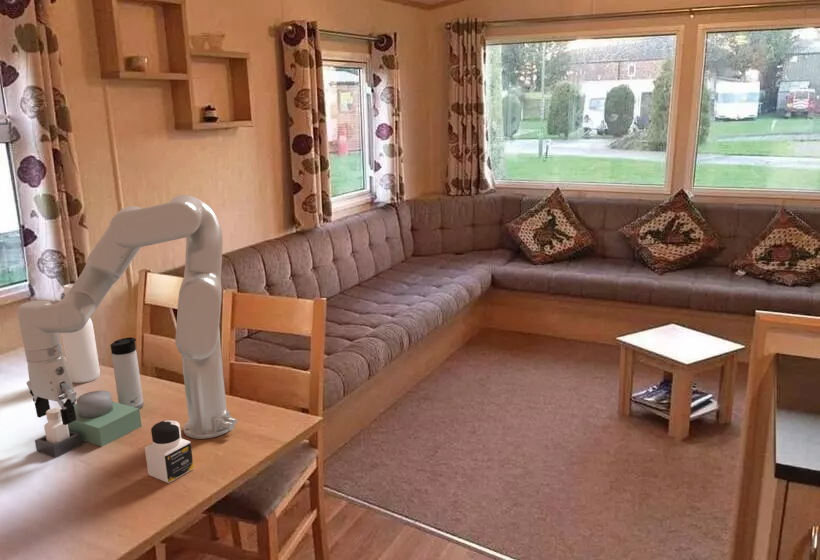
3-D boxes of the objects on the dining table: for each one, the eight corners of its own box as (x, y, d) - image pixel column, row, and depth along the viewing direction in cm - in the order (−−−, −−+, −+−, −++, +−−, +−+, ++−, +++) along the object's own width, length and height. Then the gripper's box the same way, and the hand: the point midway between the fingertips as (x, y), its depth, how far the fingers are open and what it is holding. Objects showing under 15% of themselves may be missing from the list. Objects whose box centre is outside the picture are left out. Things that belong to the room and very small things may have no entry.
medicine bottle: (168, 484, 145) (162, 434, 142) (147, 475, 149) (141, 427, 146) (194, 469, 151) (188, 421, 148) (173, 461, 154) (167, 414, 151)
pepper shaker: (72, 444, 163) (66, 408, 160) (57, 451, 159) (50, 415, 157) (61, 440, 164) (55, 405, 162) (46, 447, 161) (40, 412, 159)
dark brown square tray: (82, 444, 163) (80, 433, 163) (55, 457, 157) (53, 446, 156) (63, 438, 167) (62, 427, 166) (36, 451, 160) (34, 440, 160)
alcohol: (96, 382, 201) (82, 287, 194) (65, 385, 200) (49, 290, 192) (103, 371, 210) (89, 280, 202) (73, 374, 208) (58, 282, 201)
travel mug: (139, 411, 181) (129, 343, 176) (115, 412, 181) (105, 343, 176) (148, 402, 187) (139, 335, 182) (125, 402, 187) (116, 335, 182)
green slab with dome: (141, 426, 172) (137, 394, 170) (101, 446, 162) (96, 413, 160) (96, 413, 180) (91, 382, 178) (55, 431, 170) (49, 399, 168)
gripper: (81, 352, 155) (93, 418, 159) (36, 342, 163) (49, 406, 167) (52, 363, 148) (65, 432, 153) (6, 353, 156) (20, 418, 161)
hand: (56, 418), depth 160 cm, fingers open, 9 cm apart
